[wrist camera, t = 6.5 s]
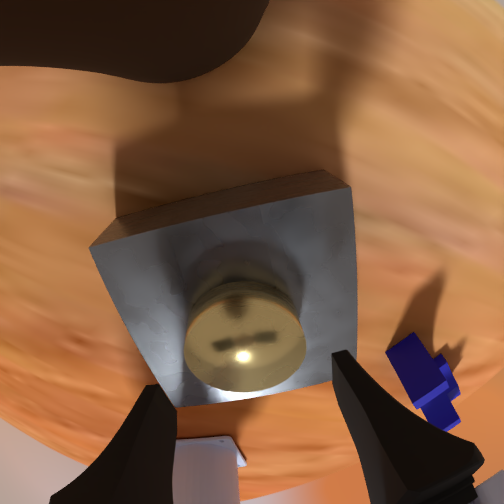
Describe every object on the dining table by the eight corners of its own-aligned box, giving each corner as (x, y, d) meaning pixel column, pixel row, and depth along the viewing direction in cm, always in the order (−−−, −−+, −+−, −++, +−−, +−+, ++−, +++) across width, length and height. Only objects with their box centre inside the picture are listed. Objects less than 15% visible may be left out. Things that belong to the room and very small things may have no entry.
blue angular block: (448, 375, 26) (472, 413, 21) (416, 398, 27) (437, 438, 22) (426, 319, 22) (462, 367, 16) (384, 350, 23) (412, 403, 17)
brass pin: (210, 333, 20) (207, 399, 14) (181, 261, 17) (164, 322, 12) (293, 314, 19) (312, 378, 14) (276, 237, 17) (297, 292, 12)
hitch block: (180, 365, 21) (175, 407, 18) (115, 218, 16) (88, 247, 12) (338, 334, 21) (355, 373, 17) (324, 169, 16) (350, 186, 12)
